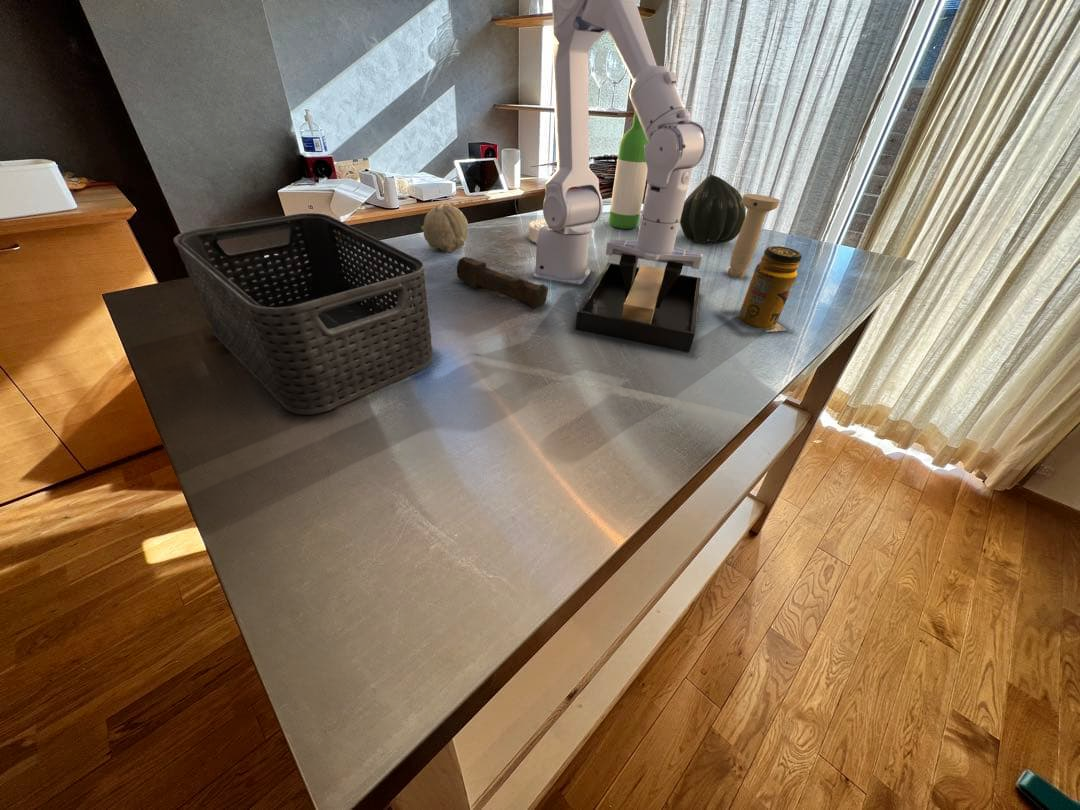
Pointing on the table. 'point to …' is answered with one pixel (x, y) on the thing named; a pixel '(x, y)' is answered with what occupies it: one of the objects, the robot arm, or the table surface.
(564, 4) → the robot arm
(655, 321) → the black tray
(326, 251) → the storage bin
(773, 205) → the handle
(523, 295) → the hand tool
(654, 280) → the stick
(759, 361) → the table surface
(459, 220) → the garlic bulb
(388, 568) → the table surface
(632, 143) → the wine bottle
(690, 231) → the squash
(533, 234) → the mooncake
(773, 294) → the condiment
